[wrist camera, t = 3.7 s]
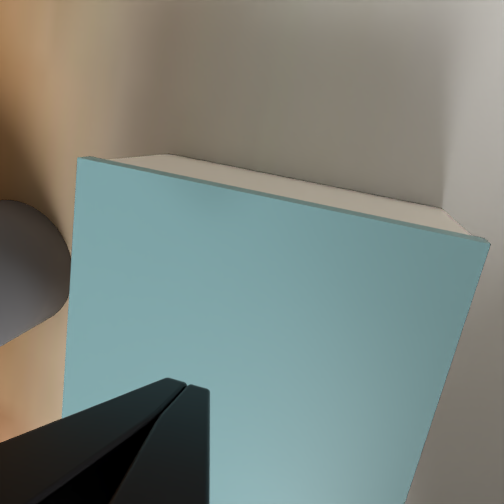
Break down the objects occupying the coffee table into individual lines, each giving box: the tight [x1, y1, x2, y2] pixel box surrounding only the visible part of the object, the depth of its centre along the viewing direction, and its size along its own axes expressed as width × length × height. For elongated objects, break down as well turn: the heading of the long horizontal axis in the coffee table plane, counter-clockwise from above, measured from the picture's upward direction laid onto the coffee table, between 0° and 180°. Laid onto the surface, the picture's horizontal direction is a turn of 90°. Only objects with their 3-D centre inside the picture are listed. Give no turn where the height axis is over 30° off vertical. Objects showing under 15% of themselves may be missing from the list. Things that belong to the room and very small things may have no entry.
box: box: [106, 154, 472, 236], centre depth 16 cm, size 10×12×5 cm
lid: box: [62, 156, 491, 504], centre depth 13 cm, size 10×12×1 cm
